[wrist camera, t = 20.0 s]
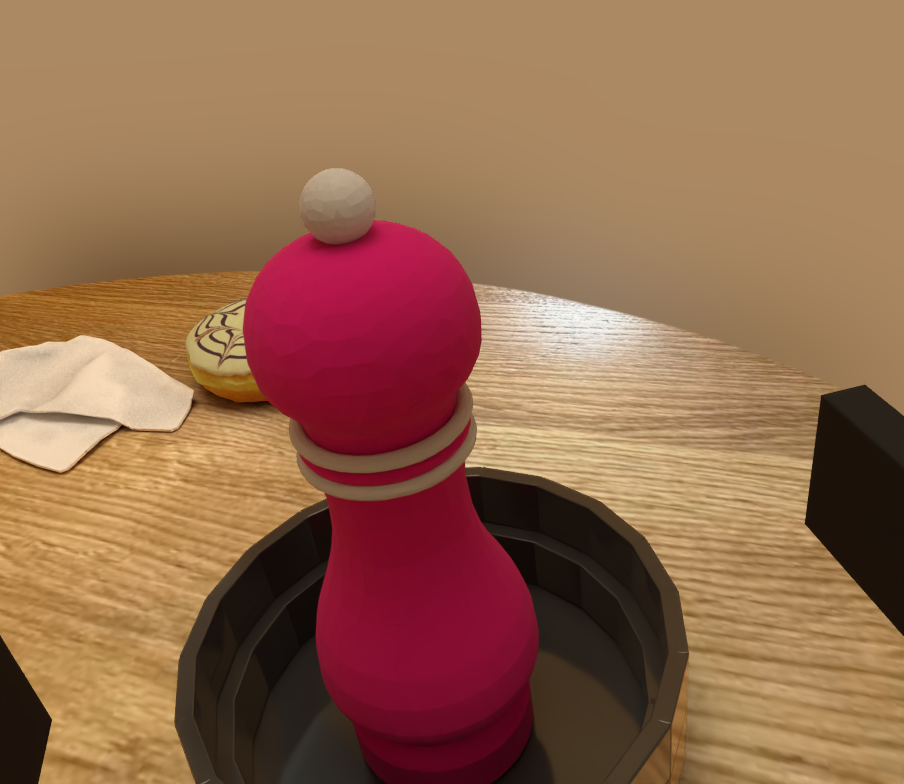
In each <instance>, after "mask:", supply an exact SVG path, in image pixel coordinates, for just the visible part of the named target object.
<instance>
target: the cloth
mask: <svg viewBox="0 0 904 784" xmlns="http://www.w3.org/2000/svg"><path fill="white" fill-rule="evenodd" d="M193 393H194V390H193V389H191V388H189V387H188V386H186V385H184V384H183V383H181V382H179V381H177V380H175V379H173V378H171V377H170V376H168V375H167V374H165V373H164V372H163V371H161V370H160V369H158V368H157V367H156V366H154V365H153V364H151V363H150V362H147V361H146V360H144V359H143V358H141V357H139V356H138V355H136V354H134V353H133V352H131V351H130V350H128V349H123V348H121V347H119V346H118V345H116V344H114V343H112V342H109V341H107V340H104V339H99V338H94V337H89V336H84V335H80V336H78V337H76V338H74V339H72V340H70V341H67V342H45V343H42V344H39V345H36V346H28V347H22V348H16V349H10V350H4V351H2V352H0V449H2V450H3V451H5V452H6V453H8V454H10V455H11V456H13V457H15V458H18V459H20V460H23V461H25V462H28V463H30V464H33V465H35V466H38V467H41V468H45V469H48V470H52V471H56V472H59V473H62V472H64V471H67V470H69V469H70V468H71V467H72V466H73V465H74V464H76V463H77V462H78V461H79V460H80V459H81V458H82V457H83V456H84V455H85V454H86V453H87V452H88V451H90V450H91V449H92V448H93V447H94V446H95V445H96V444H97V443H98V442H99V441H100V440H102V439H103V438H105V437H106V436H108V435H110V434H111V433H113V432H114V431H116V430H117V429H118V428H119V427H120V426H121V425H124V426H126V427H128V428H130V429H132V430H140V431H167V432H173V431H175V430H176V429H178V428H179V427H180V426H181V424H182V422H183V421H184V419H185V418H186V416H187V414H188V413H189V411H190V408H191V403H192V398H193Z"/></svg>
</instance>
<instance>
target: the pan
mask: <svg viewBox="0 0 904 784" xmlns="http://www.w3.org/2000/svg"><path fill="white" fill-rule="evenodd" d="M465 474H466V479H467V483H468V487H469V492H470V496H471V500H472V504H473V506H474V508H475V510H476V512H477V515H478V517H479V519H480V521H481V522H482V524H483V525H484V527H485V528H486V529H487V531H488V532H489V533H490V534H491V535H492V536H493V537H494V538H495V539H496V540H497V541H498V542H499V544H500V545H501V546H502V547H503V549H504V550H505V551H506V552H507V553H508V555H509V556H510V557H511V559H512V560H513V562H514V563H515V565H516V567H517V568H518V570H519V572H520V574H521V576H522V577H523V579H524V581H525V583H526V585H527V588H528V590H529V592H530V594H531V598H532V602H533V606H534V611H535V615H536V619H537V624H538V629H539V646H538V655H537V659H536V662H535V666H534V670H533V672H532V674H531V677H530V679H529V682H530V689H531V697H532V705H533V722H532V729H531V732H530V736H529V739H528V741H527V744H526V746H525V748H524V750H523V751H522V753H521V755H520V756H519V758H518V759H517V760H516V761H515V763H514V764H513V765H512V766H511V767H510V768H509V769H508V770H507V771H506V772H505V773H504V774H503V775H502V776H501V777H500V778H498V779H497V780H495V781H494V782H492V783H490V784H679V780H680V775H681V771H682V766H683V762H684V757H685V750H686V723H687V696H688V667H689V650H688V644H687V638H686V632H685V627H684V621H683V615H682V609H681V603H680V597H679V591H678V590H677V588H676V586H675V585H674V583H673V581H672V580H671V578H670V577H669V575H668V573H667V572H666V570H665V569H664V567H663V565H662V564H661V562H660V561H659V559H658V557H657V556H656V554H655V552H654V551H653V549H652V548H651V546H650V544H649V543H648V541H647V540H646V539H645V537H644V536H643V535H641V534H640V533H639V532H638V531H636V530H635V529H634V528H633V527H631V526H630V525H629V524H628V523H626V522H625V521H624V520H623V519H621V518H620V517H619V516H618V515H616V514H615V513H614V512H613V511H612V510H610V509H609V508H608V507H607V506H605V505H604V504H603V503H602V502H600V501H598V500H596V499H594V498H591V497H589V496H587V495H584V494H582V493H580V492H577V491H575V490H573V489H570V488H568V487H565V486H563V485H561V484H558V483H556V482H554V481H551V480H549V479H546V478H543V477H540V476H534V475H528V474H522V473H516V472H510V471H504V470H498V469H492V468H486V467H483V468H482V467H471V468H465ZM331 546H332V522H331V517H330V511H329V506H328V500H327V499H325V500H323V501H321V502H318V503H316V504H314V505H312V506H310V507H307V508H305V509H303V510H301V511H300V512H298V513H296V514H295V515H294V516H292V517H291V518H289V519H288V520H287V521H285V522H284V523H283V524H281V525H280V526H279V527H277V528H276V529H274V530H273V531H272V532H270V533H269V534H268V535H266V536H265V537H264V538H262V539H261V540H259V541H258V542H257V543H255V544H254V545H253V546H251V547H250V548H249V549H248V550H246V552H245V553H244V554H243V555H242V556H241V557H240V559H239V560H238V561H237V562H236V563H235V565H234V566H233V567H232V568H231V569H230V570H229V572H228V573H227V574H226V575H225V576H224V578H223V579H222V580H221V581H220V582H219V583H218V585H217V586H216V587H215V588H214V589H213V590H212V592H211V593H210V594H209V595H208V596H207V598H206V600H205V601H204V603H203V606H202V608H201V610H200V612H199V615H198V617H197V619H196V621H195V623H194V626H193V628H192V630H191V632H190V635H189V637H188V639H187V641H186V644H185V646H184V648H183V650H182V652H181V655H180V658H179V665H178V679H177V693H176V707H175V720H174V723H175V728H176V731H177V733H178V736H179V739H180V742H181V745H182V747H183V750H184V753H185V756H186V759H187V761H188V764H189V767H190V770H191V773H192V775H193V778H194V781H195V784H387V783H386V782H384V781H383V780H382V779H380V778H379V777H378V776H377V775H376V774H375V773H374V772H373V770H372V769H371V768H370V767H369V765H368V763H367V762H366V760H365V758H364V756H363V754H362V752H361V748H360V745H359V742H358V739H357V735H356V732H355V729H354V726H353V723H352V721H351V720H350V719H349V718H348V717H347V716H345V715H344V714H343V713H342V712H341V711H340V710H339V709H338V707H337V705H336V704H335V702H334V701H333V699H332V698H331V696H330V694H329V692H328V691H327V689H326V687H325V684H324V681H323V678H322V674H321V669H320V664H319V658H318V653H317V648H316V622H317V609H318V602H319V597H320V593H321V589H322V585H323V581H324V578H325V574H326V570H327V566H328V561H329V556H330V551H331Z"/></svg>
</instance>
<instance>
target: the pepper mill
mask: <svg viewBox="0 0 904 784" xmlns="http://www.w3.org/2000/svg"><path fill="white" fill-rule="evenodd" d="M299 208H300V215H301V218H302V221H303V223H304V225H305V227H306V228H307V229H308V231H309V232H310V233H309V234H307V235H304V236H302V237H300V238H298V239H296V240H295V241H293V242H292V243H290V244H289V245H287V246H285V247H284V248H282V249H281V250H280V251H279V252H278V253H277V254H276V255H275V256H273V257H272V258H271V259H270V260H269V261H268V262H267V263H266V265H265V266H264V267H263V269H262V270H261V272H260V273H259V274H258V276H257V277H256V279H255V282H254V284H253V286H252V288H251V290H250V293H249V295H248V297H247V300H246V304H245V312H244V321H243V336H244V344H245V351H246V358H247V363H248V366H249V368H250V370H251V372H252V375H253V377H254V379H255V381H256V384H257V386H258V388H259V390H260V391H261V393H262V394H263V395H264V396H265V397H266V399H267V400H268V401H269V402H270V404H272V405H273V406H274V407H275V408H277V409H278V410H279V411H280V412H281V413H283V414H284V415H286V416H288V417H290V418H291V419H290V424H289V434H290V439H291V441H292V444H293V446H294V447H295V449H296V450H297V456H296V457H297V463H298V466H299V469H300V471H301V473H302V475H303V476H304V477H305V478H306V480H307V481H308V482H309V483H310V484H311V485H313V486H314V487H315V488H317V489H318V490H320V491H322V492H324V493H325V495H326V497H327V500H328V506H329V511H330V517H331V522H332V546H331V551H330V556H329V561H328V566H327V570H326V574H325V578H324V581H323V585H322V589H321V593H320V597H319V602H318V609H317V622H316V648H317V653H318V658H319V664H320V669H321V674H322V678H323V681H324V684H325V687H326V689H327V691H328V692H329V694H330V696H331V698H332V699H333V701H334V702H335V704H336V705H337V707H338V709H339V710H340V711H341V712H342V713H343V714H344V715H345V716H347V717H348V718H349V719H350V720H351V721H352V723H353V726H354V729H355V732H356V735H357V739H358V742H359V745H360V748H361V752H362V754H363V756H364V758H365V760H366V762H367V763H368V765H369V767H370V768H371V769H372V770H373V772H374V773H375V774H376V775H377V776H378V777H379V778H380V779H382V780H383V781H384V782H386V783H387V784H490V783H492V782H494V781H495V780H497V779H498V778H500V777H501V776H502V775H503V774H504V773H505V772H506V771H507V770H508V769H509V768H510V767H511V766H512V765H513V764H514V763H515V761H516V760H517V759H518V758H519V756H520V755H521V753H522V751H523V750H524V748H525V746H526V744H527V741H528V739H529V736H530V732H531V729H532V722H533V705H532V697H531V689H530V682H529V679H530V677H531V674H532V672H533V670H534V666H535V662H536V659H537V655H538V646H539V629H538V624H537V619H536V615H535V611H534V606H533V602H532V598H531V594H530V592H529V590H528V588H527V585H526V583H525V581H524V579H523V577H522V576H521V574H520V572H519V570H518V568H517V567H516V565H515V563H514V562H513V560H512V559H511V557H510V556H509V555H508V553H507V552H506V551H505V550H504V549H503V547H502V546H501V545H500V544H499V542H498V541H497V540H496V539H495V538H494V537H493V536H492V535H491V534H490V533H489V532H488V531H487V529H486V528H485V527H484V525H483V524H482V522H481V521H480V519H479V517H478V515H477V512H476V510H475V508H474V506H473V504H472V500H471V496H470V492H469V487H468V483H467V479H466V474H465V460H466V459H467V457H468V456H469V454H470V453H471V451H472V449H473V447H474V445H475V440H476V432H477V427H476V422H475V419H474V416H473V415H472V409H473V399H472V394H471V392H470V389H469V387H468V386H467V384H466V383H465V382H466V380H467V379H468V377H469V375H470V374H471V372H472V369H473V367H474V365H475V362H476V360H477V358H478V355H479V351H480V346H481V341H482V340H481V316H480V310H479V306H478V303H477V299H476V296H475V292H474V289H473V285H472V283H471V281H470V279H469V277H468V276H467V274H466V272H465V271H464V269H463V267H462V265H461V264H460V263H459V261H458V260H457V259H456V258H455V256H454V255H453V254H452V253H451V252H450V251H449V250H448V249H447V248H445V247H444V246H443V245H442V244H440V243H439V242H438V241H436V240H435V239H433V238H432V237H431V236H429V235H428V234H425V233H423V232H421V231H419V230H417V229H415V228H411V227H408V226H404V225H401V224H398V223H393V222H388V221H374V218H375V213H376V203H375V198H374V195H373V193H372V190H371V189H370V187H369V185H368V184H367V182H366V181H365V180H364V179H363V178H362V177H360V176H359V175H357V174H356V173H354V172H351V171H349V170H347V169H341V168H333V169H332V168H331V169H327V170H324V171H322V172H320V173H318V174H317V175H315V176H313V177H312V178H311V179H310V180H309V181H308V182H307V184H306V185H305V187H304V189H303V191H302V194H301V197H300V204H299Z"/></svg>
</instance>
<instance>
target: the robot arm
mask: <svg viewBox="0 0 904 784" xmlns="http://www.w3.org/2000/svg"><path fill="white" fill-rule="evenodd" d="M805 525H806V526H807V527H808V528H809V529H810V530H811V531H812V532H813V534H814V535H815V536H816V537H817V538H818V539H819V540H820V542H821V543H822V544H823V545H824V546H825V547H826V548H827V550H828V551H829V552H830V553H831V554H832V555H833V556H834V558H835V559H836V560H837V561H838V562H839V563H840V564H841V565H842V567H843V568H844V569H845V570H846V571H847V572H848V573H849V575H850V576H851V577H852V578H853V579H854V580H855V581H856V583H857V584H858V585H859V586H860V587H861V588H862V589H863V591H864V592H865V593H866V594H867V595H868V596H869V597H870V598H871V600H872V601H873V602H874V603H875V604H876V605H877V606H878V608H879V609H880V610H881V611H882V612H883V613H884V614H885V616H886V617H887V618H888V619H889V620H890V621H891V622H892V624H893V625H894V626H895V627H896V628H897V629H898V630H899V631H900V633H901V634H902V635H903V636H904V416H903V415H902V414H901V413H899V412H898V411H897V410H896V409H894V408H893V407H892V406H891V405H889V404H888V403H887V402H886V401H884V400H883V399H882V398H881V397H879V396H878V395H877V394H876V393H875V392H873V391H872V390H871V389H870V388H868V387H867V386H866V385H862V386H857V387H854V388H849V389H845V390H841V391H837V392H833V393H829V394H824V395H821V402H820V409H819V417H818V425H817V433H816V441H815V448H814V456H813V464H812V472H811V479H810V487H809V495H808V503H807V511H806V518H805ZM51 722H52V719H51V717H50V716H49V714H48V712H47V711H46V709H45V707H44V706H43V704H42V703H41V701H40V699H39V698H38V696H37V694H36V693H35V691H34V690H33V688H32V686H31V685H30V683H29V682H28V680H27V678H26V677H25V675H24V673H23V672H22V670H21V669H20V667H19V665H18V664H17V662H16V660H15V659H14V657H13V656H12V654H11V652H10V651H9V649H8V647H7V646H6V644H5V643H4V641H3V639H2V638H1V636H0V784H38V782H39V777H40V773H41V768H42V764H43V759H44V754H45V750H46V745H47V741H48V736H49V731H50V727H51Z"/></svg>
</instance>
